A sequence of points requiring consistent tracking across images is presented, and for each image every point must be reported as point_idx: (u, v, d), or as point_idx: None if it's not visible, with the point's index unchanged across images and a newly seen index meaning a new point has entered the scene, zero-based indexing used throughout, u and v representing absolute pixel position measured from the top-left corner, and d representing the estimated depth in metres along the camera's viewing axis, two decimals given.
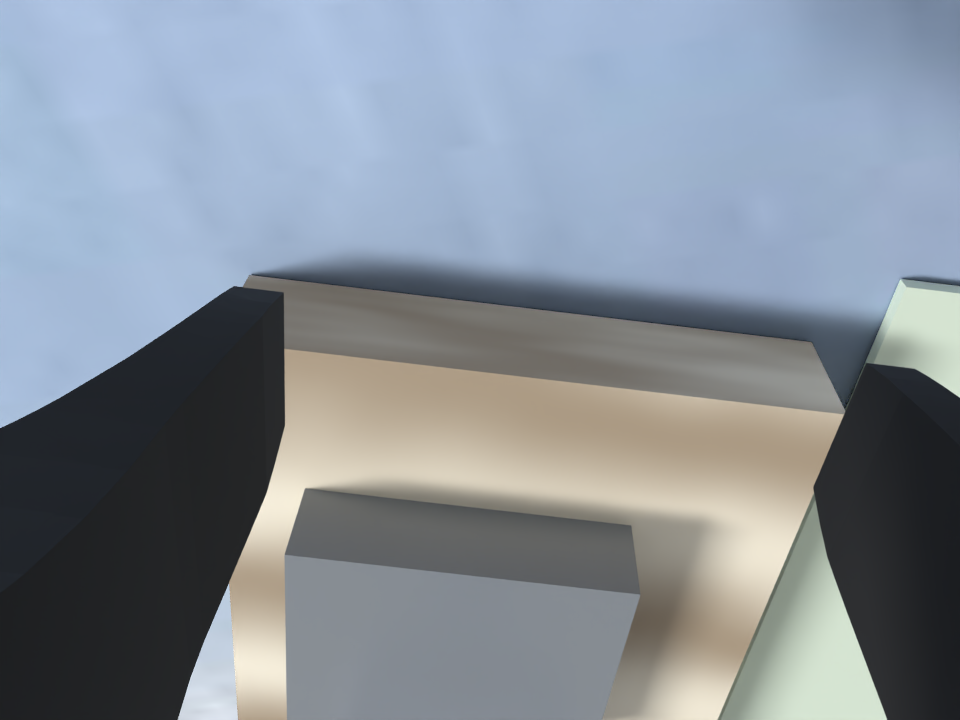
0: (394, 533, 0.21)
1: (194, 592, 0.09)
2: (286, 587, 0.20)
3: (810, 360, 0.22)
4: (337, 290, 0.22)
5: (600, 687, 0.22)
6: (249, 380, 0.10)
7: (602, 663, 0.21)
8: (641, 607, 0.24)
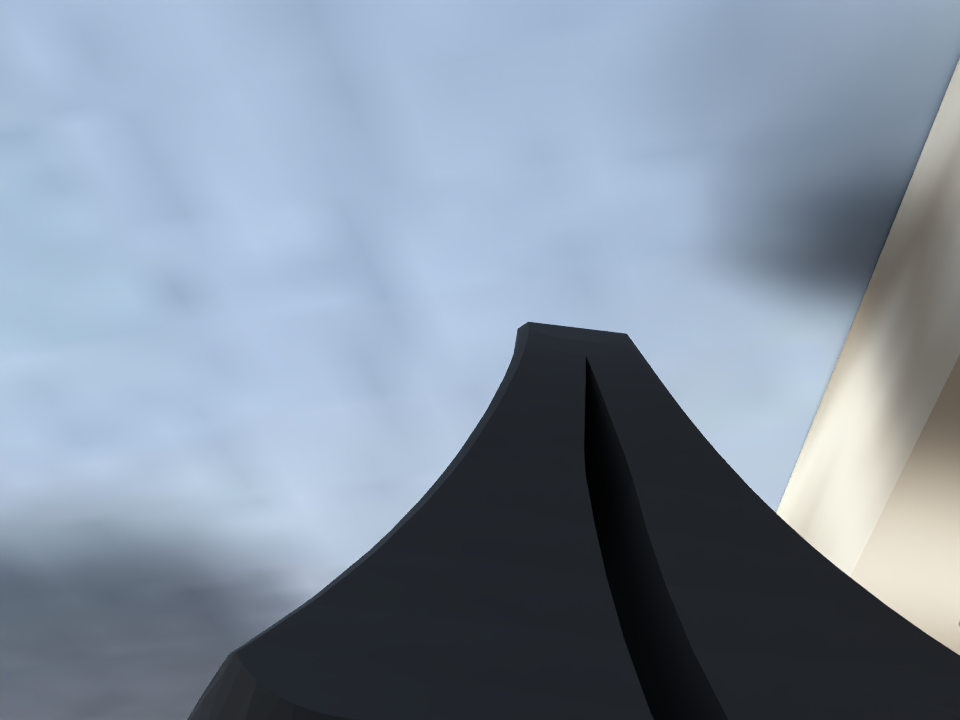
0: None
1: None
2: None
3: None
4: None
5: None
6: None
7: None
8: None
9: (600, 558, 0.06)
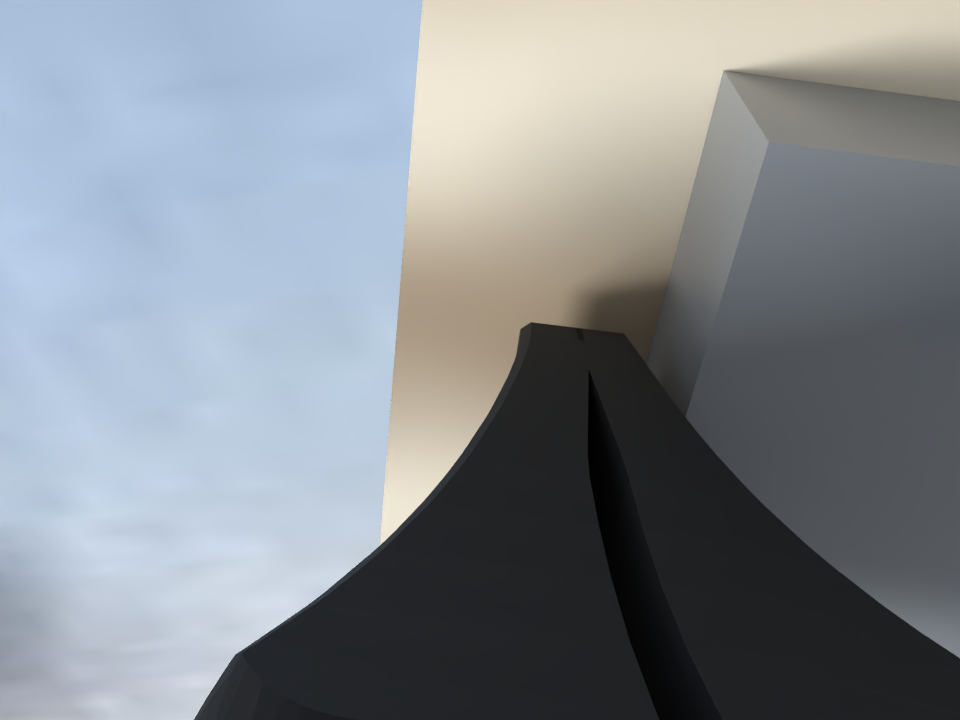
0: None
1: None
2: (741, 249, 0.08)
3: None
4: None
5: None
6: None
7: None
8: None
9: (605, 559, 0.06)
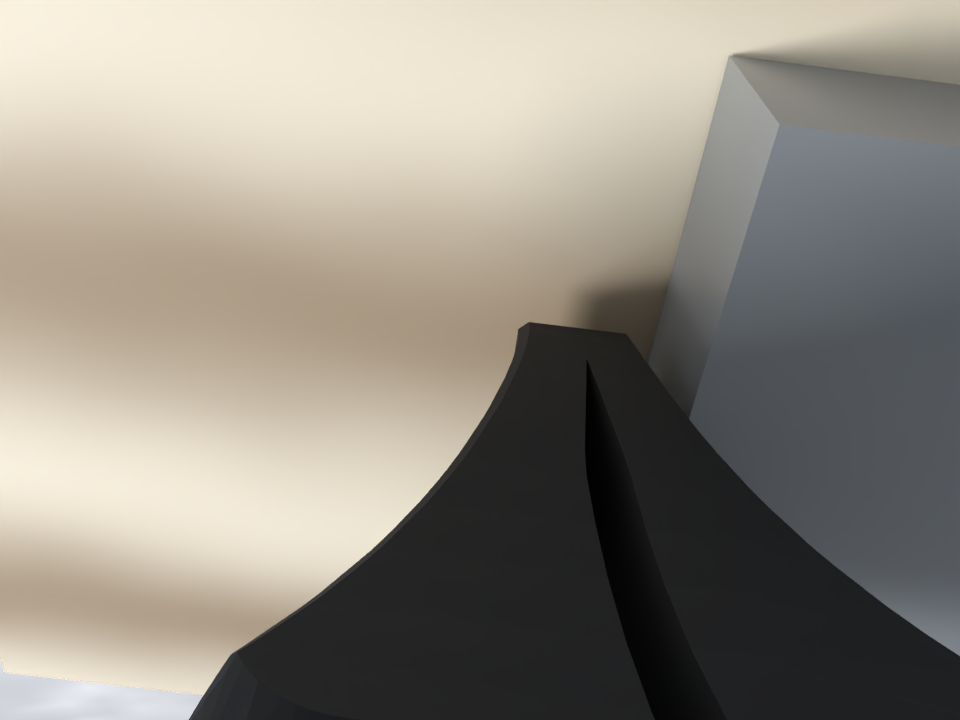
0: None
1: None
2: (750, 234, 0.08)
3: None
4: None
5: None
6: None
7: None
8: None
9: (601, 559, 0.06)
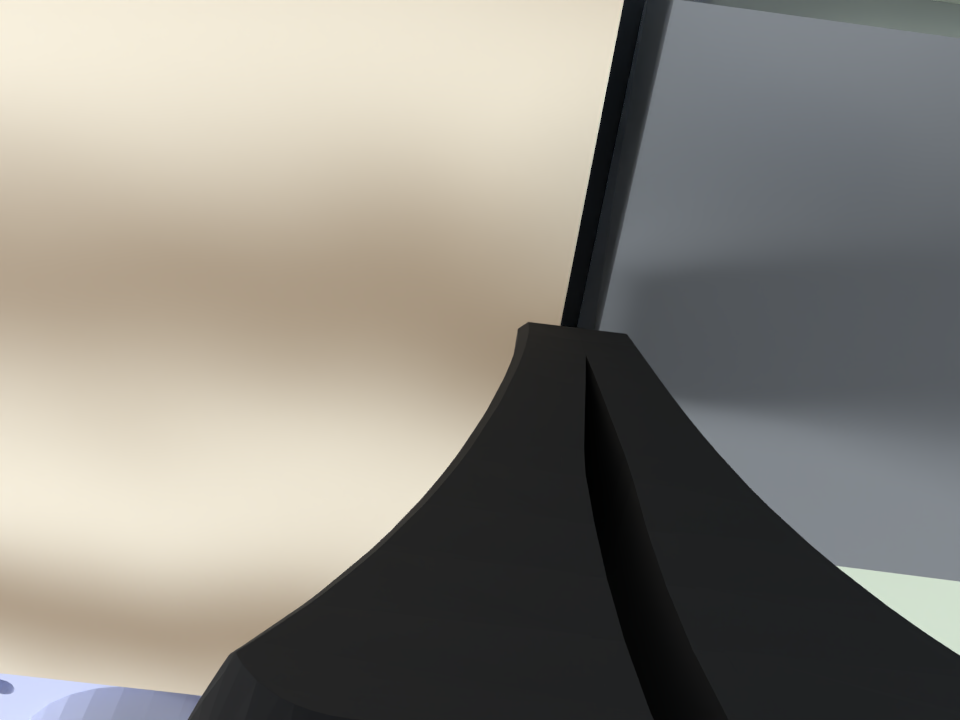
0: (858, 6, 0.11)
1: None
2: (656, 94, 0.10)
3: None
4: None
5: None
6: None
7: None
8: (317, 256, 0.11)
9: (600, 558, 0.06)
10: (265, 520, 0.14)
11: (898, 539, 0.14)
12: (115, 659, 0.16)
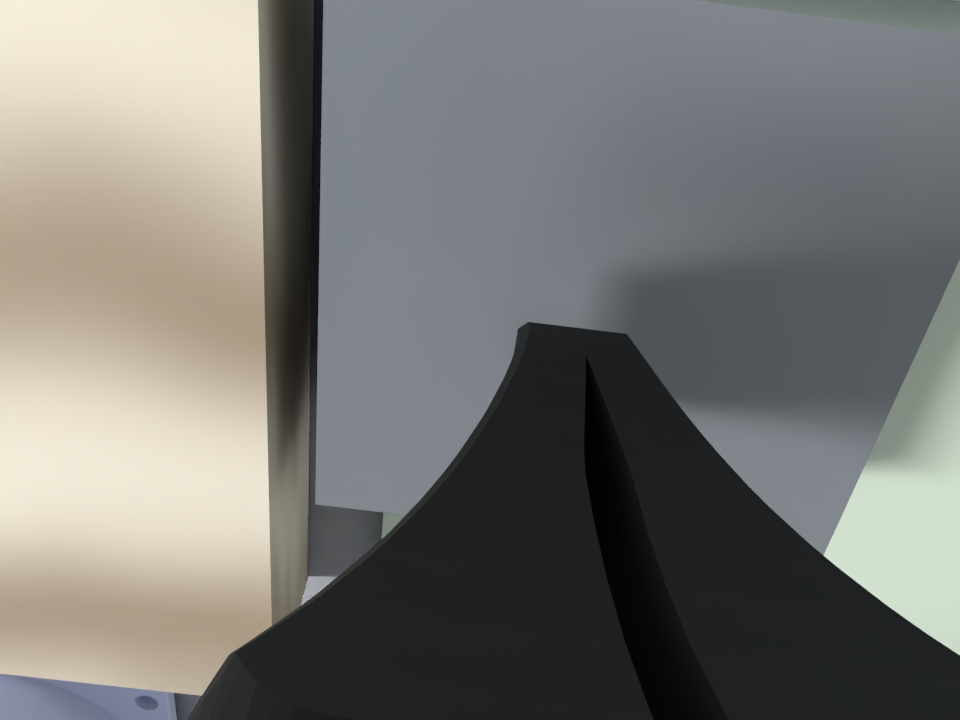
0: None
1: None
2: (325, 50, 0.10)
3: None
4: None
5: (913, 311, 0.12)
6: None
7: (932, 247, 0.11)
8: (8, 217, 0.11)
9: (600, 558, 0.06)
10: (14, 491, 0.14)
11: None
12: None
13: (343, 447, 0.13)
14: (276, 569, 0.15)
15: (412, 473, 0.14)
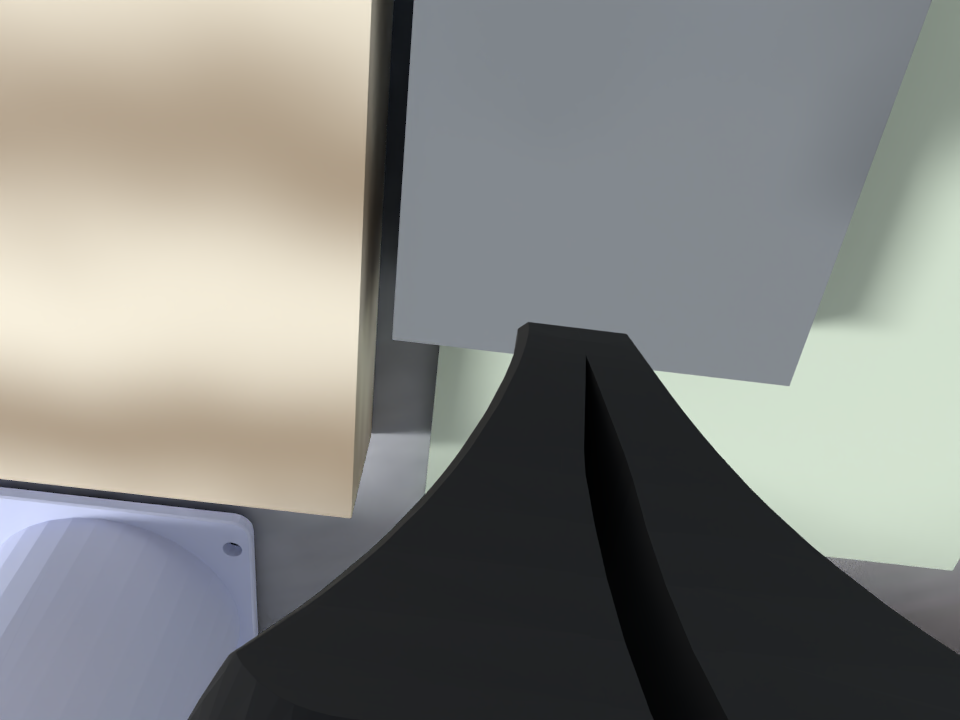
0: None
1: None
2: None
3: None
4: None
5: (853, 167, 0.15)
6: None
7: (865, 115, 0.15)
8: (178, 95, 0.15)
9: (600, 558, 0.06)
10: (159, 327, 0.17)
11: (661, 340, 0.18)
12: (51, 459, 0.19)
13: (416, 288, 0.17)
14: (358, 398, 0.19)
15: (469, 310, 0.17)
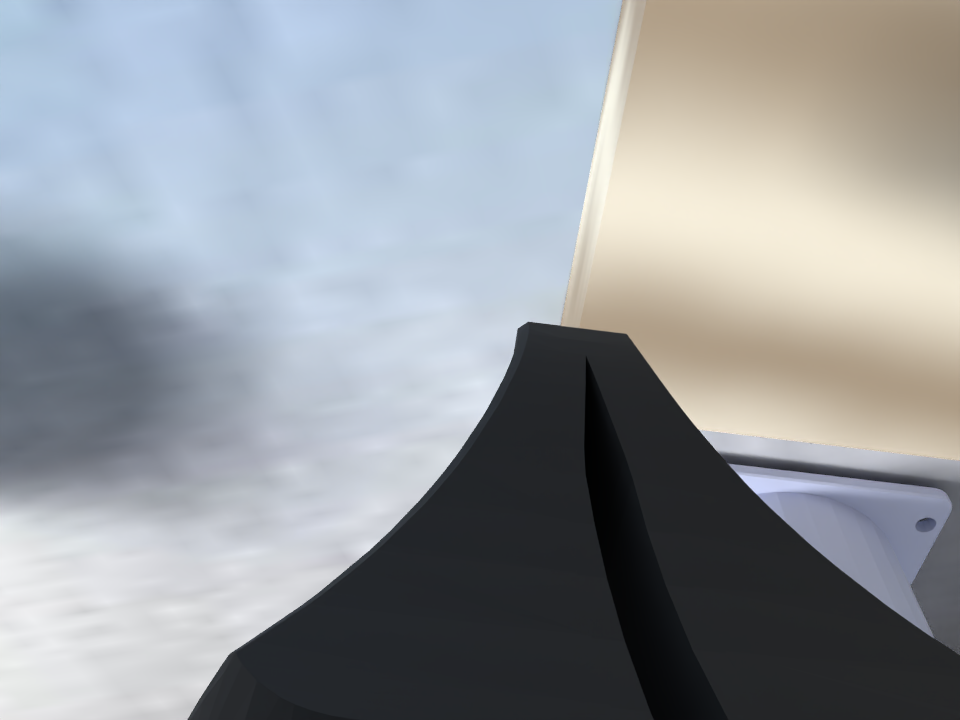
0: None
1: None
2: None
3: None
4: None
5: None
6: None
7: None
8: None
9: (601, 558, 0.06)
10: None
11: None
12: (914, 426, 0.19)
13: None
14: None
15: None
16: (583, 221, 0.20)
